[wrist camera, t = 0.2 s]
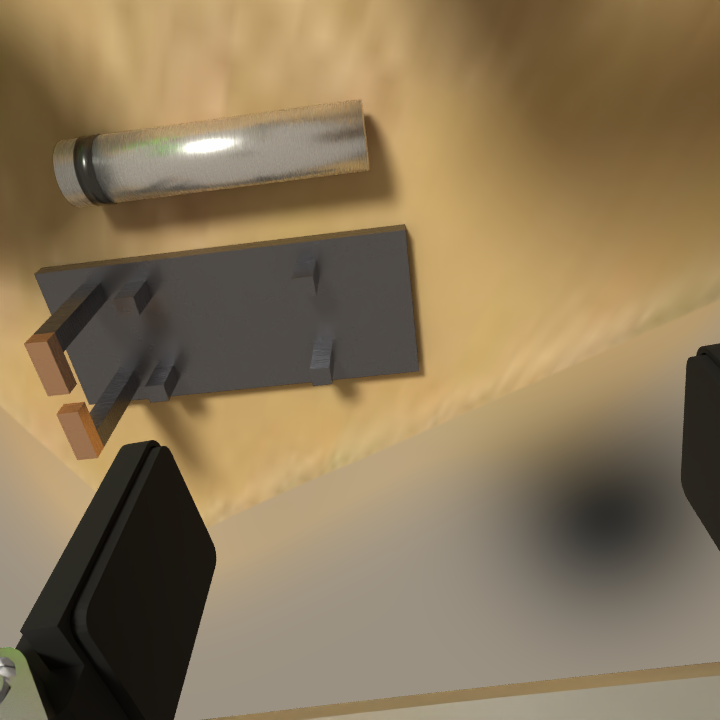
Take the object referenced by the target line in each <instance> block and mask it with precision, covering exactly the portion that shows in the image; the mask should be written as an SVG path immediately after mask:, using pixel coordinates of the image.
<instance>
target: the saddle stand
mask: <svg viewBox="0 0 720 720" xmlns="http://www.w3.org/2000/svg"><path fill="white" fill-rule="evenodd" d="M34 275H35V277H36V280H37V282H38V284H39V287H40V289H41V291H42V294H43V296H44V298H45V301H46V303H47V306H48V308H49V310H50V313H51V315H52V316H51V317H50V318H49V319H48V320H47V321H46V322H45V323H44V324H43V325H42V326H41V327H40V328H39V329H38V330H37V331H36V332H35V333H34V334H33V335H32V336H31V337H30V338H29V339H28V340H27V341H26V342H25V344H24V345H25V347H26V349H27V351H28V353H29V356H30V358H31V360H32V362H33V364H34V367H35V369H36V371H37V373H38V375H39V377H40V380H41V382H42V384H43V386H44V388H45V390H46V393H47V395H48V396H53V395H63V394H70V393H71V391H72V390H73V388H74V387H75V386H76V384H77V383H76V381H75V378H74V376H73V374H72V371H71V369H70V367H69V364H68V362H67V360H66V357H65V355H64V353H63V352H64V351H65V350H66V351H67V353H68V355H69V358H70V360H71V362H72V365H73V367H74V369H75V372H76V374H77V377H78V379H79V381H80V384H81V386H82V388H83V391H84V393H85V395H86V398H87V400H88V403H89V405H91V404H95V406H94V407H93V409H92V410H91V412H90V413H89V411H88V409H87V407H86V404H85V402H80V403H70V404H64V405H63V406H62V407H61V409H60V410H59V411H58V413H57V417H58V419H59V421H60V423H61V425H62V428H63V430H64V432H65V434H66V436H67V438H68V441H69V443H70V445H71V447H72V449H73V451H74V454H75V456H76V458H77V460H82V459H93V458H98V457H99V455H100V453H101V451H102V450H103V448H104V446H105V445H106V443H107V441H108V439H109V438H110V436H111V434H112V432H113V431H114V429H115V427H116V425H117V424H118V422H119V420H120V419H121V417H122V415H123V413H124V412H125V410H126V408H127V406H128V405H129V403H130V401H131V400H140V399H149V400H150V402H160V401H169V399H170V397H171V396H179V395H189V394H199V393H209V392H219V391H228V390H238V389H248V388H258V387H268V386H277V385H287V384H297V383H307V382H312V383H313V386H318V385H328V384H332V382H333V380H336V379H346V378H356V377H366V376H376V375H386V374H395V373H405V372H415V371H419V366H418V356H417V345H416V335H415V325H414V314H413V304H412V293H411V283H410V273H409V262H408V252H407V241H406V231H405V224H404V225H396V226H387V227H379V228H371V229H362V230H354V231H346V232H337V233H329V234H321V235H313V236H304V237H296V238H288V239H279V240H271V241H263V242H254V243H246V244H238V245H229V246H221V247H213V248H204V249H196V250H188V251H179V252H171V253H163V254H155V255H146V256H138V257H130V258H121V259H113V260H105V261H96V262H88V263H80V264H71V265H63V266H55V267H46V268H41V269H40V270H39V271H37V272H36V273H35V274H34Z"/></svg>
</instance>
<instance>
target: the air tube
mask: <svg viewBox="0 0 720 720" xmlns="http://www.w3.org/2000/svg"><path fill="white" fill-rule="evenodd" d="M53 166H54V172H55V176H56V180H57V183H58V185H59V188H60V190H61V192H62V193H63V195H64V197H65V198H66V199H67V201H68V202H69V203H70V204H71V205H73V206H75V207H78V208H80V207H88V206H103V205H111V204H117V203H119V202H127V201H135V200H143V199H150V198H158V197H166V196H174V195H182V194H190V193H197V192H205V191H213V190H221V189H229V188H237V187H244V186H252V185H260V184H268V183H276V182H284V181H292V180H299V179H307V178H315V177H323V176H331V175H339V174H346V173H354V172H362V171H369V170H370V167H369V154H368V145H367V135H366V127H365V119H364V112H363V105H362V100H361V99H359V100H352V101H344V102H337V103H330V104H322V105H315V106H308V107H300V108H293V109H286V110H279V111H271V112H264V113H257V114H249V115H242V116H235V117H227V118H220V119H213V120H205V121H198V122H191V123H183V124H176V125H169V126H161V127H154V128H147V129H139V130H132V131H125V132H118V133H110V134H103V135H101V134H98V135H90V136H83V137H79V138H74V139H66V140H60V141H59V142H57V144H56V145H55V148H54V152H53Z"/></svg>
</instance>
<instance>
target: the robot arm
mask: <svg viewBox="0 0 720 720" xmlns="http://www.w3.org/2000/svg"><path fill="white" fill-rule="evenodd" d="M684 406H685V407H684V426H683V445H682V466H681V482H682V487H683V490H684V493H685V495H686V497H687V499H688V501H689V502H690V504H691V506H692V507H693V509H694V510H695V512H696V514H697V515H698V517H699V518H700V520H701V522H702V523H703V525H704V526H705V528H706V530H707V531H708V533H709V535H710V536H711V538H712V539H713V541H714V543H715V544H716V546H717V547H718V549H719V551H720V344H714V345H708V346H702V347H700V348H699V349H698V351H697V355H696V356H694V357H690V358H688V361H687V366H686V386H685V405H684ZM215 566H216V551H215V547H214V544H213V542H212V540H211V538H210V535H209V533H208V531H207V529H206V527H205V525H204V522H203V520H202V518H201V516H200V514H199V512H198V509H197V507H196V505H195V503H194V501H193V499H192V496H191V494H190V492H189V490H188V488H187V486H186V483H185V481H184V479H183V477H182V475H181V473H180V471H179V468H178V466H177V464H176V462H175V460H174V458H173V455H172V453H171V451H170V450H169V448H168V447H167V446H160V444H159V443H158V442H157V441H154V440H150V441H144V442H138V443H133V444H127V445H124V446H122V448H121V449H120V450H119V452H118V454H117V456H116V458H115V459H114V461H113V463H112V465H111V467H110V468H109V470H108V472H107V474H106V476H105V478H104V479H103V481H102V483H101V485H100V487H99V488H98V490H97V492H96V494H95V496H94V498H93V499H92V501H91V503H90V505H89V507H88V508H87V510H86V512H85V514H84V516H83V518H82V519H81V521H80V523H79V525H78V527H77V529H76V530H75V532H74V534H73V536H72V538H71V539H70V541H69V543H68V545H67V547H66V549H65V550H64V552H63V554H62V556H61V558H60V559H59V561H58V563H57V565H56V567H55V569H54V570H53V572H52V574H51V576H50V578H49V579H48V581H47V583H46V585H45V587H44V588H43V590H42V592H41V594H40V596H39V598H38V599H37V601H36V603H35V605H34V607H33V608H32V610H31V612H30V614H29V616H28V618H27V619H26V621H25V623H24V625H23V627H22V629H21V631H20V632H21V633H22V634H23V636H22V638H21V639H20V641H19V643H18V645H17V647H16V648H15V649H14V648H11V647H7V648H0V720H174V717H175V713H176V709H177V705H178V702H179V698H180V695H181V691H182V687H183V684H184V680H185V676H186V673H187V669H188V665H189V661H190V658H191V654H192V650H193V647H194V643H195V639H196V635H197V632H198V628H199V625H200V621H201V617H202V614H203V610H204V606H205V602H206V599H207V595H208V591H209V588H210V584H211V581H212V577H213V573H214V569H215ZM204 720H720V662H715V663H704V664H695V665H685V666H675V667H666V668H657V669H648V670H638V671H628V672H620V673H610V674H600V675H591V676H582V677H572V678H563V679H554V680H545V681H536V682H527V683H517V684H508V685H499V686H490V687H482V688H472V689H464V690H454V691H445V692H436V693H428V694H420V695H411V696H401V697H393V698H384V699H375V700H367V701H358V702H348V703H340V704H332V705H323V706H315V707H306V708H297V709H289V710H280V711H272V712H264V713H255V714H247V715H239V716H230V717H221V718H213V719H204Z"/></svg>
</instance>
